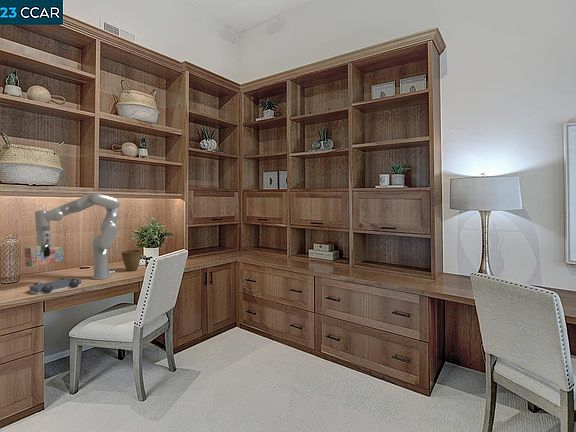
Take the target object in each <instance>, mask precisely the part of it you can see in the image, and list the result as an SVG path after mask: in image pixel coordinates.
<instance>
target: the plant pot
mask: <svg viewBox="0 0 576 432" xmlns="http://www.w3.org/2000/svg"><path fill="white" fill-rule="evenodd" d="M121 256H122V261H123V264H124V267H125V269H126V272H137V271H138V268H139V265H140V262H141V257H142V250H141V249H130V250H129V249H128V250H123V251H121Z"/></svg>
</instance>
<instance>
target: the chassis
mask: <svg viewBox="0 0 576 432" xmlns="http://www.w3.org/2000/svg"><path fill="white" fill-rule="evenodd" d="M78 287H82V279H79V278H76V277H71V278H68V277H62V278H60V279H59V280H53V281H47V282H43V283H42V282H40V281H36V282H35V283H33V284H31V285H29V293H32V294H35V295H43V294H49V293H52V292H57V291H58V292H59V291H62V290H68V289H72V288H78Z"/></svg>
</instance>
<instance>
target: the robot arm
mask: <svg viewBox="0 0 576 432" xmlns="http://www.w3.org/2000/svg"><path fill="white" fill-rule="evenodd" d="M120 204H121V203H120V200H119V199H117V198H115V197H113V196H109V195H106V194H102V193H99V192H91V193H89V194H87V195H84V196H81V197H79V198H77V199H75V200H72V201H70V202H67V203H64V204H61V205H60V206H57V207H54V208H52V209H50V210H46V209H45V210H44V209H43V210H36V211H35V212H34V217H35V219H34V220H35V232H36V246H37V245H39V246H44V249H45V250H44V256H50V248H51V246H52V235H51V227H50V226H51V224H50V221H52V222H53V221H55V222H58V221H61V220H63V218H64V217H65V216H68V215H70V214H76V213H79V212H83V211H85V210H86V209H89V208H91V207H93V206H99V207H103V208H105V209H106V210H105V211H106V213H105V216H104V219H103V221H102V222H101V225H100V228H99V230H100V232H101V234H99V235H96V236H94V238H93V240H92V249H93V275H92V276H91V279H92V280H106V279H110V278H111V277H112V274H116V272H115V271H116V270H109V267H110V266H109V249H110V248H111V247H112V245H113V243H114V242H115V239H116V237H117V234H118V231H119V226H118V224H117V222H118V219H119V216H120V211H119V207H120Z"/></svg>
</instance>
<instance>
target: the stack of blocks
mask: <svg viewBox="0 0 576 432" xmlns="http://www.w3.org/2000/svg"><path fill="white" fill-rule="evenodd" d="M44 250H45V249H44V246H39V245H37V244H36V245H33V246H32V245H31V246H26V247H25V246H24V261H25V266H26V267H31V268H32V267H38V266H42V265H47V264H53V263H56V262H63V261H65V253H64V247H62V246H61V247H60V246H56V247H50V256H44Z"/></svg>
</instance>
